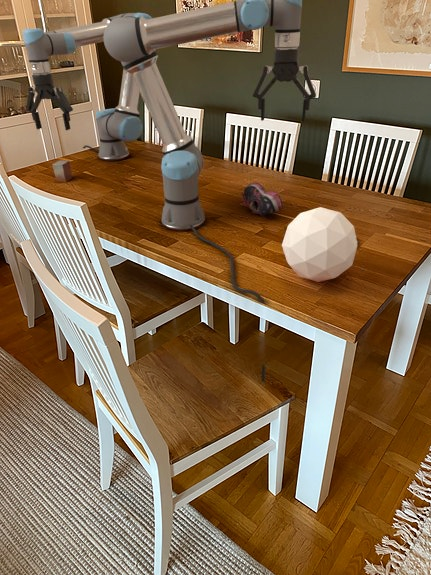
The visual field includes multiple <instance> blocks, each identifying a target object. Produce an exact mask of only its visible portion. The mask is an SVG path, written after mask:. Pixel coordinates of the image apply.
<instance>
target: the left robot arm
mask: <svg viewBox="0 0 431 575" xmlns="http://www.w3.org/2000/svg"><path fill="white" fill-rule="evenodd" d="M126 16H134V17H143V18H145V19H146V20H148V19H153V17H152V16H150V15H149V14H147V13H145V12H144V13H143V12H124V13H120V14H117V15H113V16H111V17H106V18H103V19H102V20H101V21H99V22H92V23H88V24H82V25H77V26H72V27H65V28H60V29H54V30H50V31H49V30H48V31H44V30H43V29H42V28H38V27H37V28H24V29H23V30H22V38H23V44H24V47H25V51H26V55H27V59H28V64H29V69H30V73H31V74H32V75H31V78H32V82H33V85H32V86H29V87H28V88H27V91H28V94H27V102H26V106H25V111H26V112H30V114H31V118H32V120H33V121H34V123H35V127H36V130H41V129H42V128H43V127H42V123H41V119H40V114H39V111H38V108H39V106H40V104H41V102H42V100H51V101H52V102H54V104H55V105H56V106H57V107H58V108H59V109H60V110H61V111H62V118H63V119H62V120H63V124H64V127H65V131H69V130H71V125H70V124H71V123H70V121H71V115H70V113H71V112H72V111H74V108H73V107H72V105H71V103H70V102H69V100H68V98H67V97H66V95H65V94H64V92H63V88H62V87H61V86H56V87H55V85H54V78H53V74H52V73H51V72H52V69H51V68H52V67H51V63H50V59H49V57H50V56H51V57H52V56H63V55H71V54H73V53H75V51H76V48H79V47H85V46H90V45H94V44H98V43H104V31H105V28H106V26H107V25H108V24H109V22H110V21H112V20H113V19H116V18H120V17H126ZM122 70H123V71H122V79H121V86H120V93H119V100H118V105H117V106H115V108H107V109H100V110H97V111H96V113H95V121H96V126H97V132H98V139H99V148H96V147H92V146H90V145H88V144H87V145H85V144H84V146H83V147H82V149H86V148H88V149H89V150H92V151H96V152H97V153H98V159H99V160H101V161H102V162H103V161H104V162H116V161H122V160H126V159H128V158H129V157H130V151H129V150H128V146H126V144H125V142H128V143H132V142H136V141H137V140H138V139H139V138H140V137H141V135H142V133H143V123H142V121H141V119H140V117H141V113H140V112H139V110H138V107H139V100H140V95H141V93H140V91H139V89H138V87H137V85H136V82H135V80H134V78H133V76H132V75H131V74H130V73H128V72H126V71H125V70H124V69H122ZM35 94H36V96H35Z"/></svg>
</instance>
